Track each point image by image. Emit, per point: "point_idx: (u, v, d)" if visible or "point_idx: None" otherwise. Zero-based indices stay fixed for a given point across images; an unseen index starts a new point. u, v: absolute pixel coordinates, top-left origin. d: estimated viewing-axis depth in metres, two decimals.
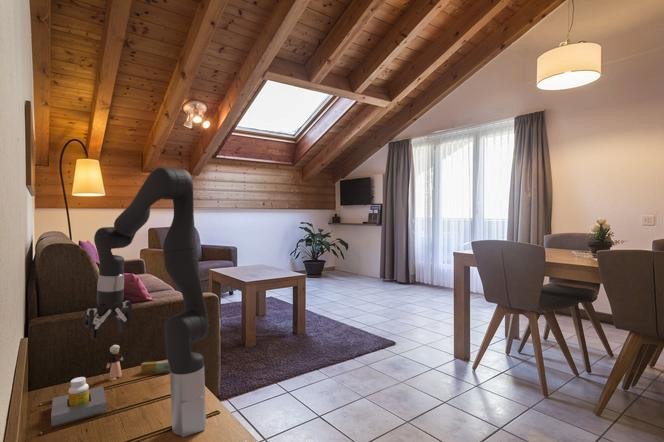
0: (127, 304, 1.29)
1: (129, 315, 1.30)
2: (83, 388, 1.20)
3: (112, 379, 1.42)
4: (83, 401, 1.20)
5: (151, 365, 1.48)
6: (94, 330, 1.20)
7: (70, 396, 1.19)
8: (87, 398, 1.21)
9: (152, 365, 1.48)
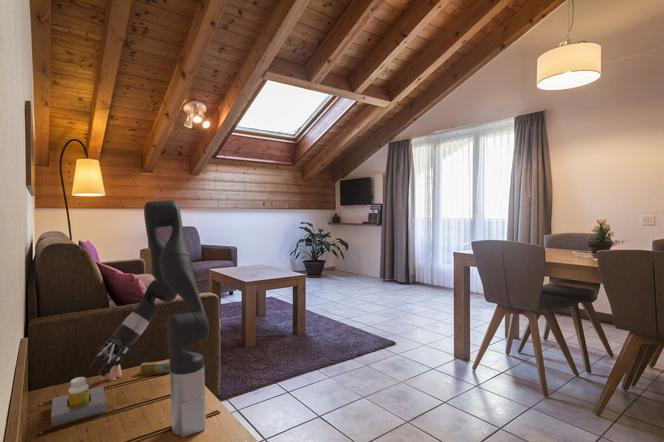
0: None
1: (113, 359, 1.23)
2: (83, 388, 1.20)
3: (112, 379, 1.42)
4: (83, 401, 1.20)
5: (150, 366, 1.47)
6: (97, 357, 1.30)
7: (70, 396, 1.19)
8: (87, 398, 1.21)
9: (151, 366, 1.47)
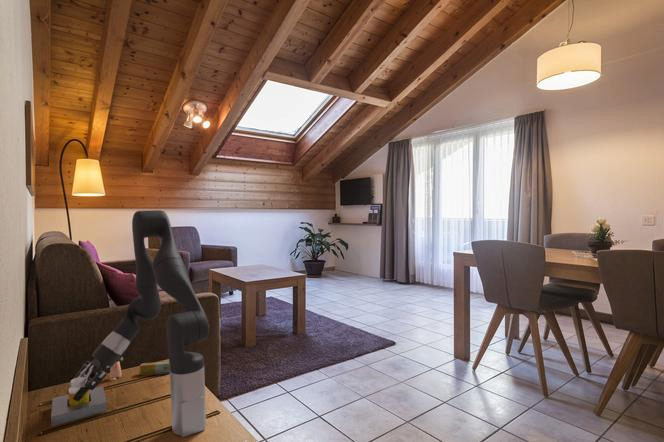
0: None
1: (88, 383, 1.19)
2: None
3: (112, 379, 1.42)
4: (83, 401, 1.20)
5: (150, 366, 1.47)
6: None
7: (70, 396, 1.19)
8: (87, 398, 1.21)
9: (151, 366, 1.47)
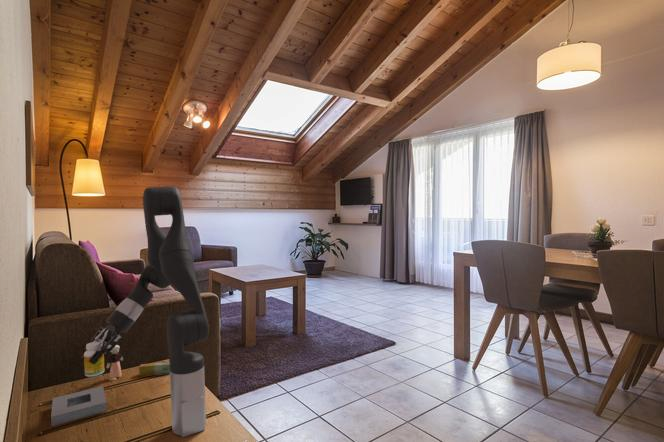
0: None
1: (104, 346, 1.20)
2: None
3: (112, 379, 1.42)
4: (99, 365, 1.21)
5: (149, 367, 1.46)
6: None
7: (86, 359, 1.19)
8: (102, 362, 1.22)
9: (150, 367, 1.46)
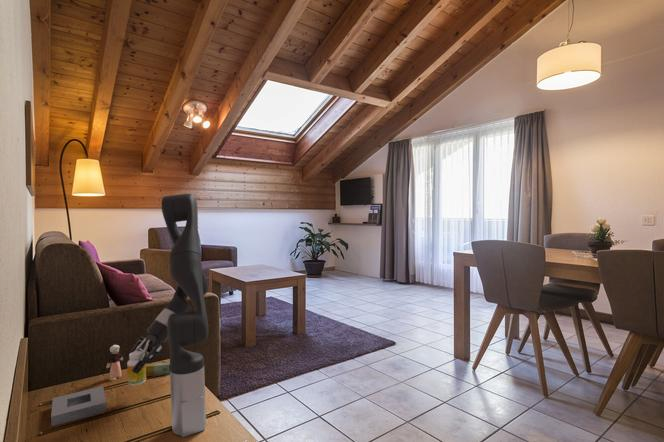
0: None
1: (146, 356, 1.24)
2: None
3: (112, 379, 1.42)
4: (141, 374, 1.25)
5: (149, 367, 1.46)
6: None
7: (129, 369, 1.24)
8: (144, 371, 1.26)
9: (150, 367, 1.46)
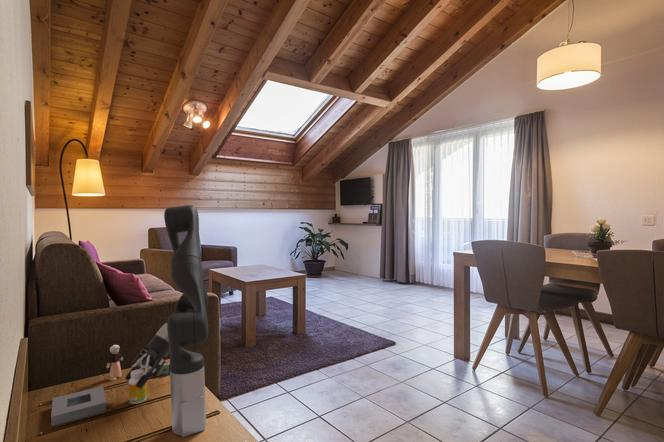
0: None
1: (149, 370, 1.23)
2: None
3: (112, 379, 1.42)
4: (142, 392, 1.25)
5: None
6: (131, 369, 1.30)
7: (130, 387, 1.24)
8: (146, 389, 1.26)
9: None
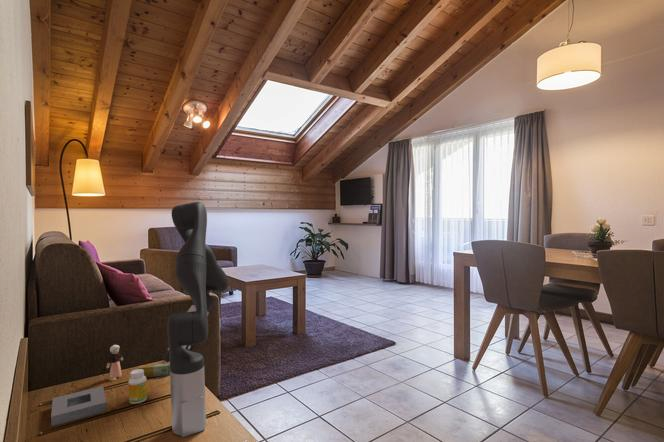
0: None
1: (185, 347, 1.33)
2: (143, 379, 1.25)
3: (112, 379, 1.42)
4: (142, 392, 1.25)
5: (148, 368, 1.45)
6: (168, 351, 1.39)
7: (130, 387, 1.24)
8: (145, 389, 1.26)
9: (149, 368, 1.45)
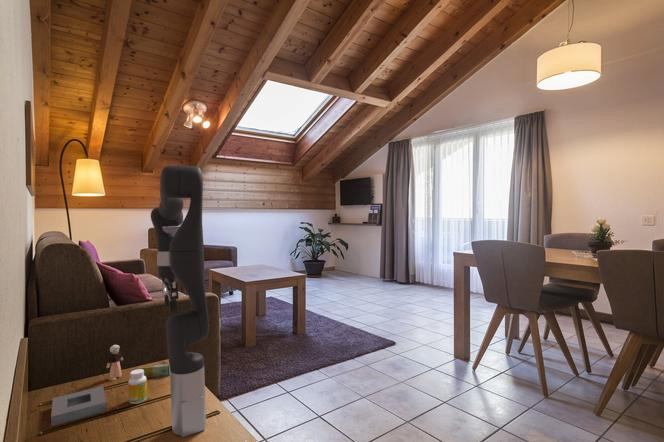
0: None
1: (170, 296, 1.29)
2: (143, 380, 1.25)
3: (112, 379, 1.42)
4: (142, 392, 1.25)
5: (147, 369, 1.44)
6: (165, 297, 1.39)
7: (130, 387, 1.24)
8: (145, 389, 1.26)
9: (149, 369, 1.44)
